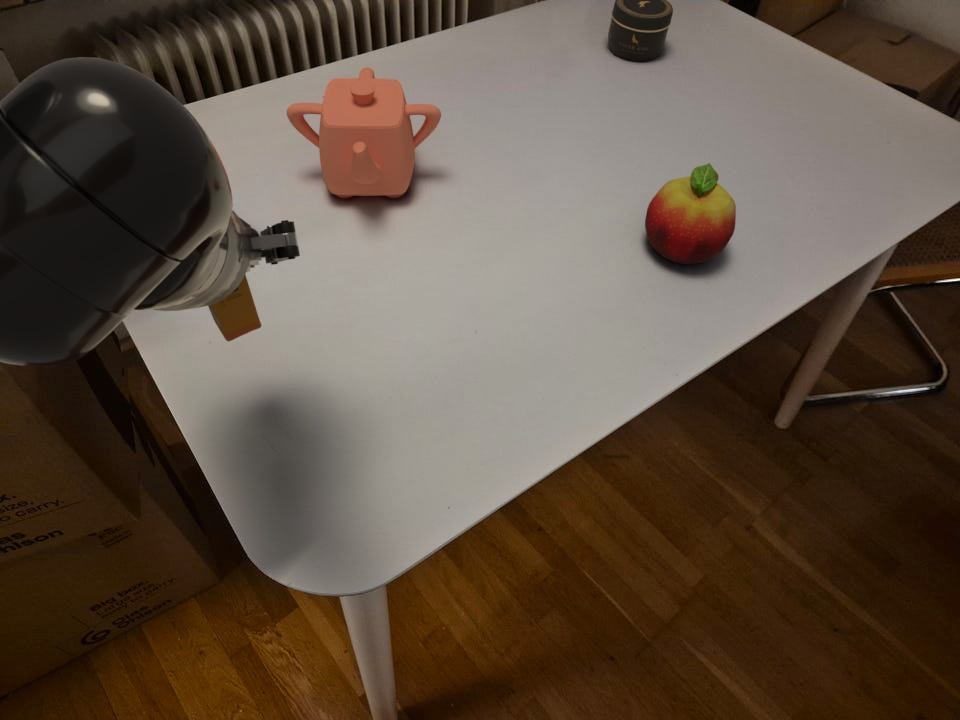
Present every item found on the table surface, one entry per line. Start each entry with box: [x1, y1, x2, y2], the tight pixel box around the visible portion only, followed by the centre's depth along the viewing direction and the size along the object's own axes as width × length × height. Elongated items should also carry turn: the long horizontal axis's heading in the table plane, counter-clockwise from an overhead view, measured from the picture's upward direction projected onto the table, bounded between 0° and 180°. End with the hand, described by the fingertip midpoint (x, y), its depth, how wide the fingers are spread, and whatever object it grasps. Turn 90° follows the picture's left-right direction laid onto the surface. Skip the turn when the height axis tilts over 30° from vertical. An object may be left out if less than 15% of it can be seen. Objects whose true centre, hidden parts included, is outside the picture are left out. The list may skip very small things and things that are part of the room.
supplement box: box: [207, 274, 262, 342], centre depth 55 cm, size 3×3×10 cm
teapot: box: [286, 67, 442, 199], centre depth 85 cm, size 17×16×13 cm
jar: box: [607, 0, 674, 62], centre depth 114 cm, size 10×10×8 cm
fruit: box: [644, 162, 737, 265], centre depth 82 cm, size 11×11×10 cm
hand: (218, 257), depth 55 cm, fingers closed on supplement box, 4 cm apart
